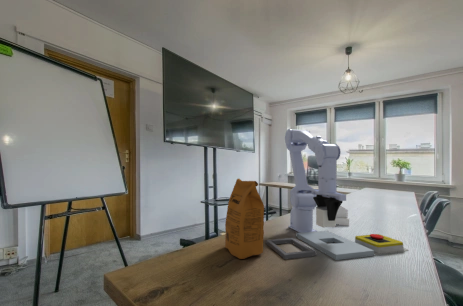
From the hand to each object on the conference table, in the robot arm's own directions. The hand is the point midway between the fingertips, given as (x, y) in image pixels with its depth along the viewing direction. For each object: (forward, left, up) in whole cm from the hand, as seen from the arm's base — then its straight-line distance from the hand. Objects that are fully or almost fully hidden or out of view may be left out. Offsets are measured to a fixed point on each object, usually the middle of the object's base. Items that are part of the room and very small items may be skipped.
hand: (327, 218), depth 73 cm
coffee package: (-2, -30, -9) cm, 31 cm away
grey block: (0, -1, -2) cm, 2 cm away
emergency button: (+5, +17, -10) cm, 20 cm away
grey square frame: (0, -15, -9) cm, 17 cm away
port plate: (0, +1, -9) cm, 9 cm away
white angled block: (-22, +26, -9) cm, 36 cm away
